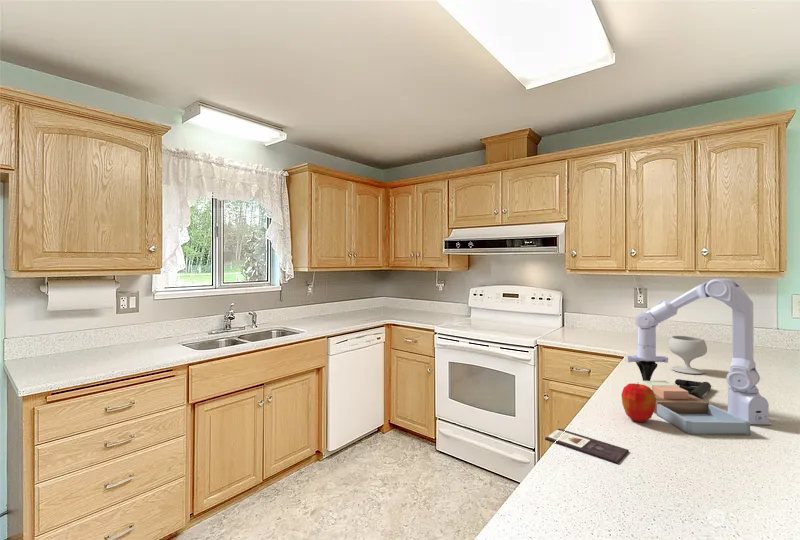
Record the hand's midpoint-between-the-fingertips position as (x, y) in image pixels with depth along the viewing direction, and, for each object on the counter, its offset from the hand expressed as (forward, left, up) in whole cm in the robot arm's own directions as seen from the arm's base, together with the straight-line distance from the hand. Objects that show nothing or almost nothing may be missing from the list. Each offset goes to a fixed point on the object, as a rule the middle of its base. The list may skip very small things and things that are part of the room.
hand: (646, 381), depth 142 cm
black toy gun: (+5, -17, -6) cm, 19 cm away
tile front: (-13, 0, -1) cm, 13 cm away
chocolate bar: (-41, +41, -6) cm, 58 cm away
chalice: (+33, -38, -5) cm, 50 cm away
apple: (-24, +17, -5) cm, 30 cm away
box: (-27, 0, -5) cm, 27 cm away
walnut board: (-11, 0, -5) cm, 12 cm away
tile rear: (-7, 0, -1) cm, 7 cm away
